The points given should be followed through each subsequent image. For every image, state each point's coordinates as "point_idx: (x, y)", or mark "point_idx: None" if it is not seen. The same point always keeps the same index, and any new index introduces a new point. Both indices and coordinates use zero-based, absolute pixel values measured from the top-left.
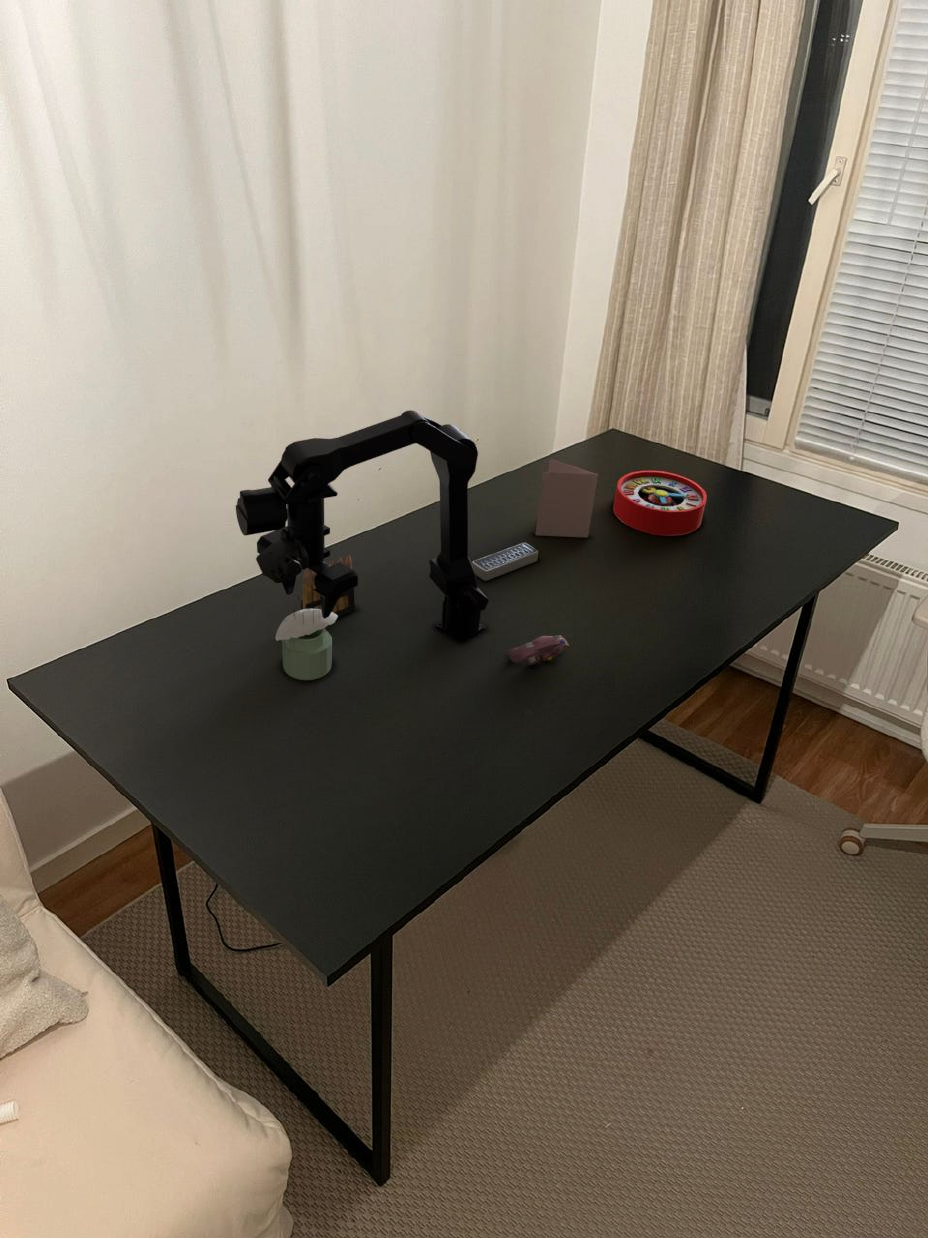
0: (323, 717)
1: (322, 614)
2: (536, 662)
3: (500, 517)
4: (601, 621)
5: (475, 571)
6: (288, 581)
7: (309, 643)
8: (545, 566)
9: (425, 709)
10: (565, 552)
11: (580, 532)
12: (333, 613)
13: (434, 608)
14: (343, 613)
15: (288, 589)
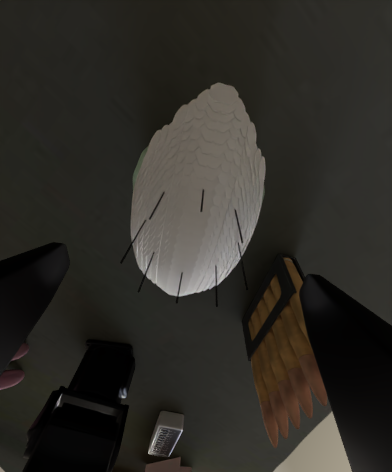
0: (36, 51)
1: (46, 250)
2: None
3: (223, 462)
4: (39, 409)
5: (176, 417)
6: (341, 341)
7: None
8: (139, 437)
9: None
10: (143, 450)
11: (150, 469)
12: (170, 294)
13: (163, 365)
14: (249, 309)
15: (318, 297)
